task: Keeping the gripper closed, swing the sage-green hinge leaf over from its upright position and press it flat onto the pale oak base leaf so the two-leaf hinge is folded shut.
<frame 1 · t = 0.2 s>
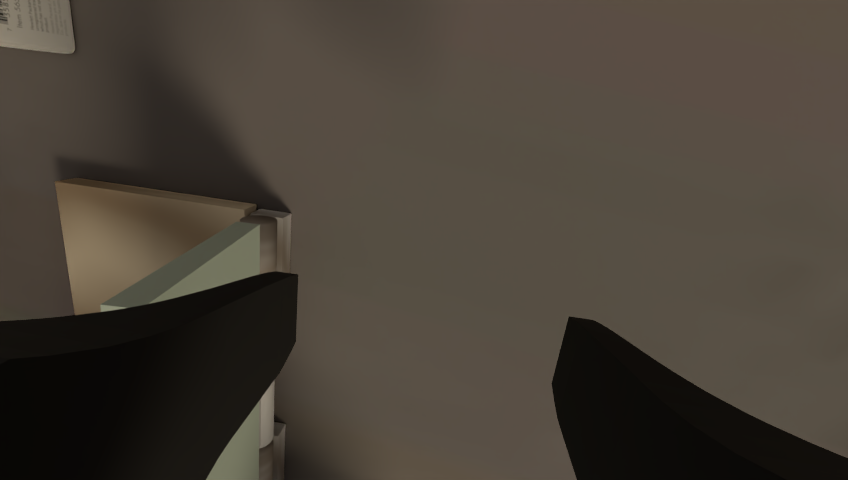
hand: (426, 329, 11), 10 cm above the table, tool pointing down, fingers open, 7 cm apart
base leaf: (273, 361, 23), on the table
hinge leaf: (221, 441, 18), point 6 cm above the table, hinge at 95.0°
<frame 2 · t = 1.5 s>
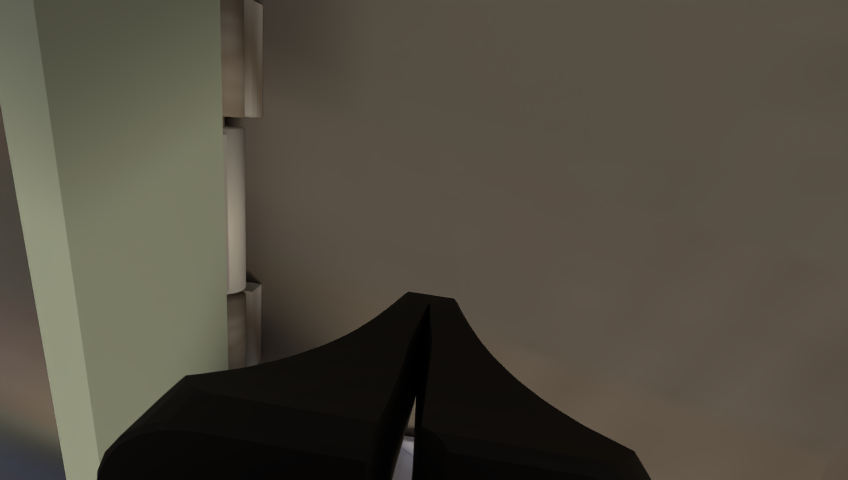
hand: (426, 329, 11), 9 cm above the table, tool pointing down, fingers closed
base leaf: (246, 203, 20), on the table
hinge leaf: (172, 239, 15), point 6 cm above the table, hinge at 95.0°
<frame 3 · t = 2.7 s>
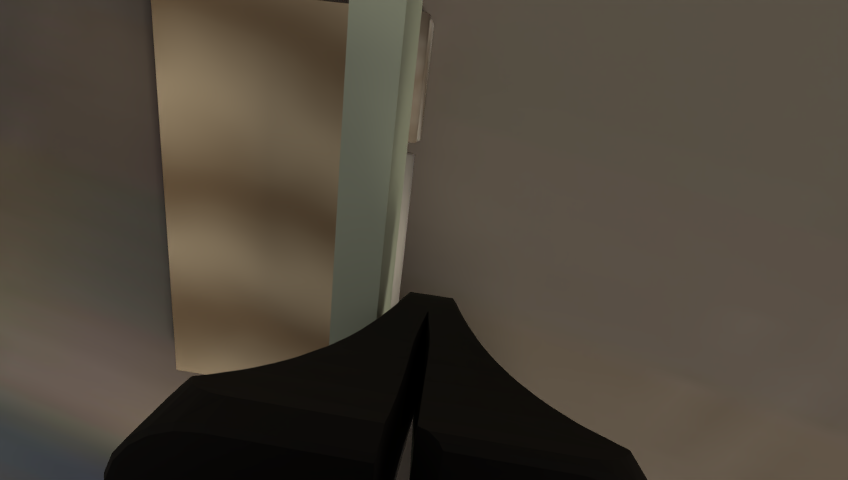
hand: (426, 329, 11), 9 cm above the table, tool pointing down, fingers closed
base leaf: (393, 227, 20), on the table
hinge leaf: (375, 274, 14), point 6 cm above the table, hinge at 95.0°, touching gripper
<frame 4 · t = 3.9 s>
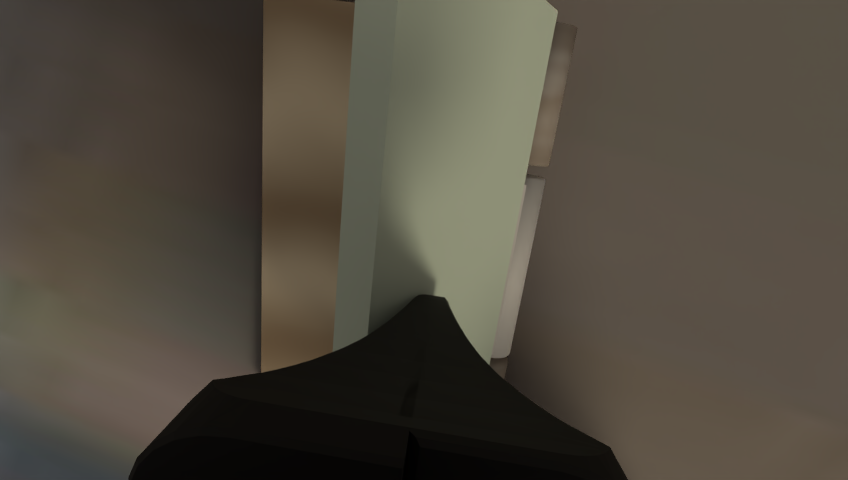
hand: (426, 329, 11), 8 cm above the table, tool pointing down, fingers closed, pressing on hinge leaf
base leaf: (502, 253, 18), on the table
hinge leaf: (455, 296, 13), point 5 cm above the table, hinge at 60.9°, touching gripper
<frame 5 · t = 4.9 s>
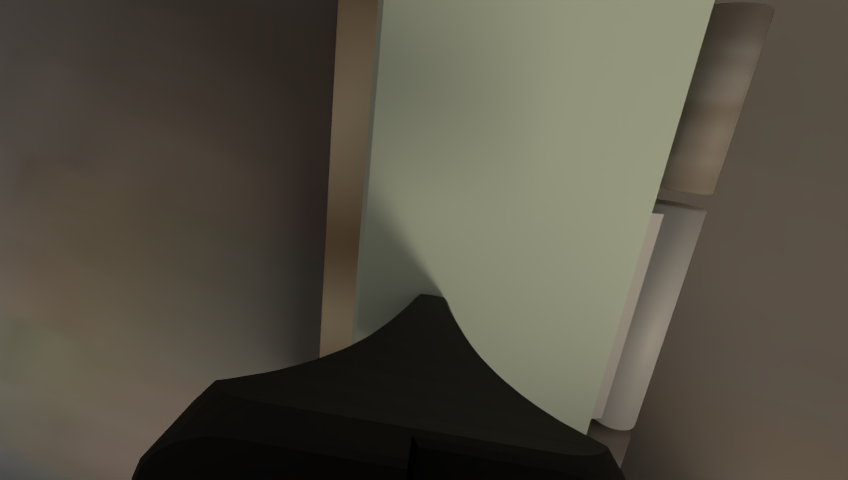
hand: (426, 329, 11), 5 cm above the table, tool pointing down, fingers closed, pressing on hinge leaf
base leaf: (619, 294, 15), on the table
hinge leaf: (523, 318, 12), point 3 cm above the table, hinge at 18.5°, touching gripper
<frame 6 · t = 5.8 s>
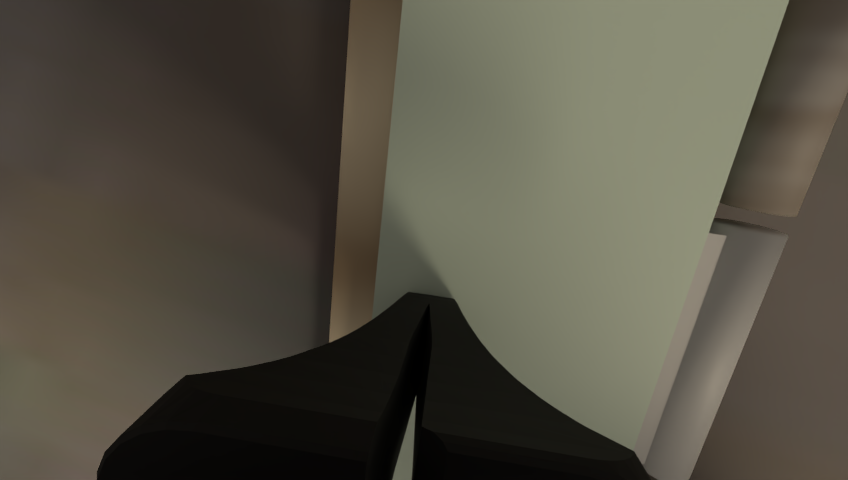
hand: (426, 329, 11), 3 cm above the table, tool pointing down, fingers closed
base leaf: (668, 324, 13), on the table
hinge leaf: (550, 335, 11), point 2 cm above the table, hinge at 2.2°
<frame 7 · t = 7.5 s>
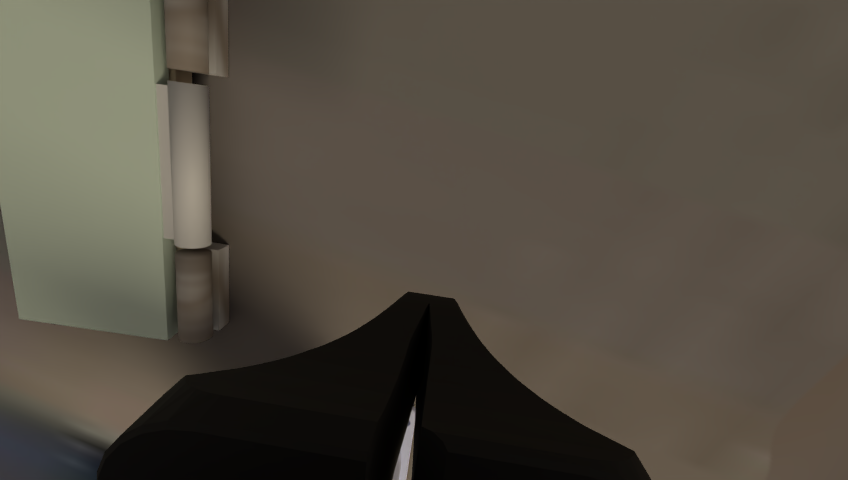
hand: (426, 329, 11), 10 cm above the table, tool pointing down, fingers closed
base leaf: (213, 163, 21), on the table
hinge leaf: (104, 155, 19), point 2 cm above the table, hinge at 2.1°
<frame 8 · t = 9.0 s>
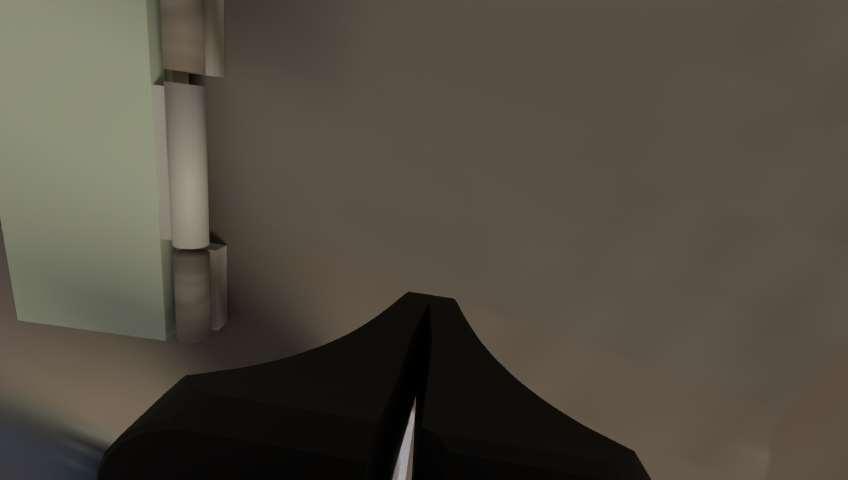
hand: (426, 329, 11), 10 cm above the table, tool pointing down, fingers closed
base leaf: (210, 164, 21), on the table
hinge leaf: (101, 156, 19), point 2 cm above the table, hinge at 2.1°
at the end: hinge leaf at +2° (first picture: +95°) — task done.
